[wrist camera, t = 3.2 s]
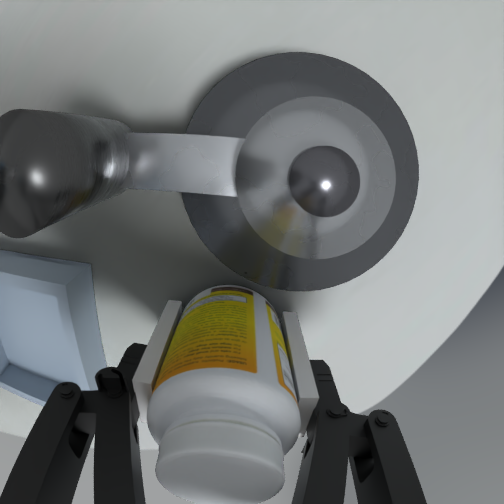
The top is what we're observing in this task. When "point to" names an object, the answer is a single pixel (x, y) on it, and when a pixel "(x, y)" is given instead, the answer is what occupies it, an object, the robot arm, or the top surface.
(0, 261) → the tray
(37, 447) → the robot arm
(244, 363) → the supplement bottle
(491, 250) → the top surface
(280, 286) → the crank housing
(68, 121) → the crank
